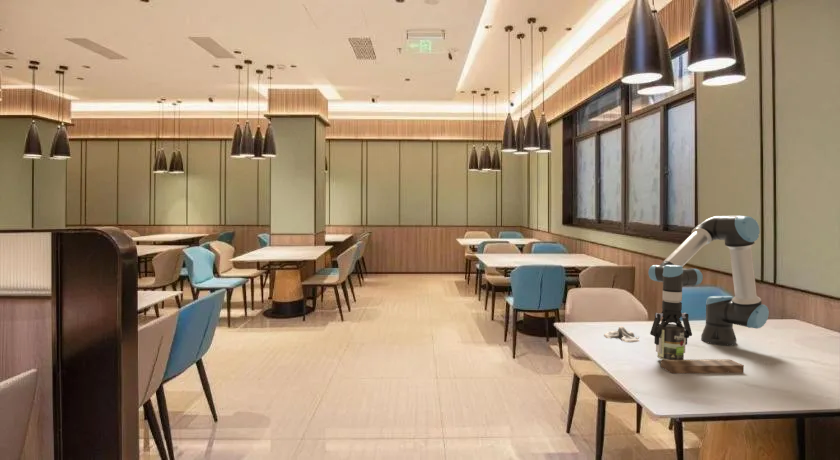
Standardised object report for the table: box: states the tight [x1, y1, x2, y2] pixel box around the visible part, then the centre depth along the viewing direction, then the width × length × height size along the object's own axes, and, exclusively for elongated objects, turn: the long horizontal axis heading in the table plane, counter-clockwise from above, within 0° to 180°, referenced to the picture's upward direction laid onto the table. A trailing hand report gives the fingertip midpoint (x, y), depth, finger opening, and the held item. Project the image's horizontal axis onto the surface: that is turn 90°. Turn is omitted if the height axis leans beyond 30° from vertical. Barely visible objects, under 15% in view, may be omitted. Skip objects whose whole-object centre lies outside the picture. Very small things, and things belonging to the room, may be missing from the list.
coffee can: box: [656, 323, 685, 360], centre depth 208 cm, size 10×10×14 cm
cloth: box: [603, 325, 640, 343], centre depth 251 cm, size 22×19×6 cm
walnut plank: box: [660, 358, 745, 374], centre depth 198 cm, size 30×8×3 cm, turn 93°
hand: (670, 352), depth 208 cm, fingers closed on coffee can, 10 cm apart
